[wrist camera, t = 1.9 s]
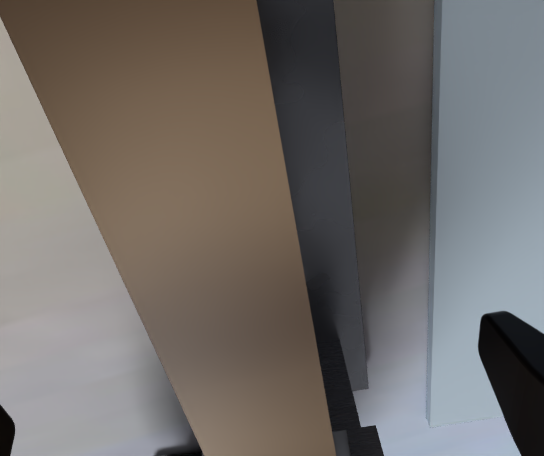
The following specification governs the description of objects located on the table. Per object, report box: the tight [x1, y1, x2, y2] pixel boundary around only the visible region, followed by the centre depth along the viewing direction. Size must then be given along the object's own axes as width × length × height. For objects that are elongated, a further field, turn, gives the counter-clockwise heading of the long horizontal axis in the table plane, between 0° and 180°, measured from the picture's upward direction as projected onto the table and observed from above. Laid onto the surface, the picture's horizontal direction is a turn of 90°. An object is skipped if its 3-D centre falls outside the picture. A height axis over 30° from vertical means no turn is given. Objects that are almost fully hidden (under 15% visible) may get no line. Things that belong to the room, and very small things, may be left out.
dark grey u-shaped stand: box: [202, 0, 384, 456], centre depth 12 cm, size 23×7×8 cm, turn 10°
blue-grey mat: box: [426, 0, 544, 428], centre depth 16 cm, size 26×7×1 cm, turn 10°
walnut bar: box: [0, 0, 336, 456], centre depth 10 cm, size 24×3×3 cm, turn 10°
